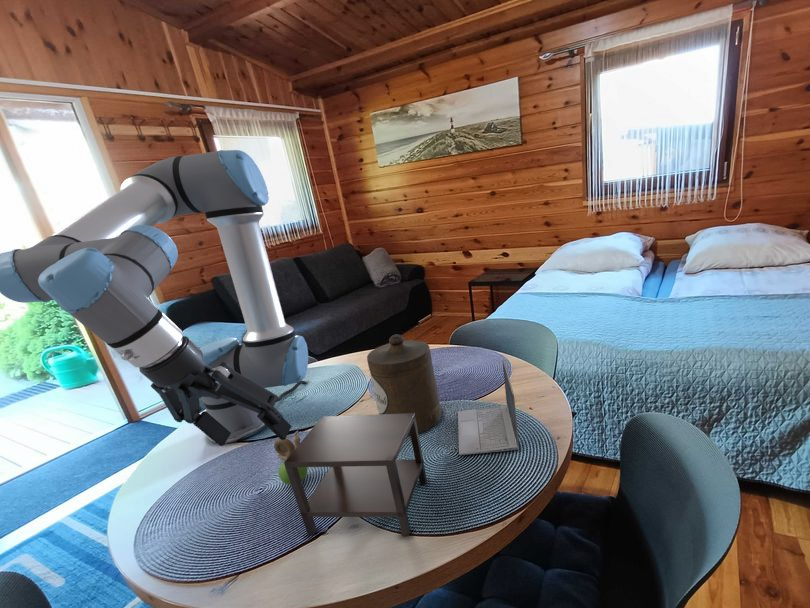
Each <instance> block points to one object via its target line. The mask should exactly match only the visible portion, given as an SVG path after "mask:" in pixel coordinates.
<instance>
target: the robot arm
mask: <svg viewBox="0 0 810 608" xmlns="http://www.w3.org/2000/svg"><path fill="white" fill-rule="evenodd" d="M269 197H270V196H269V190H268V186H267V184H266V180H265V178H264V176H263V173H262V172H261V170H260V168H259V166H258V164H257V163H256V162H255V161H254V159H253V158H252V157H251V155H249V154H248V153H247V152H245V151H243V150H240V149H228V150H227V149H226V150H225V149H219V150H216V151H209V152H202V153H193V154H187V155H186V154H185V155H177V156H176V155H175V156H171V157H167V158H164V159H162V160H159V161H157V162H154V163H153V164H150V165H149V166H147V167H144V168H143V169H140V171H138V172H136V173H134V174H133V175H131V176H130V177H127V178H126V179H125V180H124V181H123V182H122V183H121V185H120V188H119V191H118V192H116V193H115V194H113V195H111V196H110V197H108V198H107V199H105V200H104V201H102V202H101V203H99V204H97V205H96V206H94V207H93V208H91V209H90V210H88V211H87V212H85V213H83V214H82V215H80V216H78V217H77V218H76V219H74V220H73V221H71V222H70V223H68V224H66V225H65V226H63V227H62V228H60V229H58V230H57V231H55V232H54V233H52V234H51V235H50V236H48V237H45V238H44V239H43V240H41V241H39V242H38V243H36V244H34V245H33V246H31V247H28V248H24V249H23V248H22V249H21V248H17V249H15V248H14V249H12V250H10V251H9V250H8V251H6V252H1V253H0V294H1V295H2V296H4V297H5V298H7V299H9V300H11V301H13V302H17V303H22V304H26V303H40V302H42V303H47V302H51V301H54V302H55V303H56V304H57V305H58V306H59V308H60V309H61V310H63V311H64V312H65V313H68V314H69V315H71V317H73V318H74V319H75V320H77V321H78V322H79V323H80V324H81V325H83V326H84V327H85V328H87V329H88V331H90V332H91V333H92V334H94V335H95V336H97V338H99V340H101V341H103V342H104V343H105V344H106V345H107V346H109V347H110V348H112V349H113V350H114V351H115V352H116V353H117V354H118V355H120V358H121V359H122V360H123V361H127V362H128V363H129V364H130V365H131V366H132V367H134V368H139V372H140V374H142V375H143V376H144V377H145V378H146V379H148V380H149V382H151V384H150V388H152V390H154V391H155V392H156V393H157V394H158V395H159V397H160V398H161V400H162V401H163V404H164V405H165V406H166V408H167V410H168V411H169V413H170V415H171V416H172V418H173V420H174V421H175V422H176V423H182V422H183V421H185V422H186V423H187V424H190V425H193V426H195V427H196V428H198V430H199V431H201V432H202V433H203V434H205V435H206V436H207V439H208V441H210V443H212V444H217V445H218V446H220V447H223V446H225V444H232V443H236V442H239V441H240V442H241V441H243V440H246V439H248V438H250V437H253V436H255V435H257V434H258V433H260V432H262V431H263V430H264V429H266V428H268V429H269V430H270V431H271V432H272V433H273V434H274V435H276V437H278V439H279V438H280V439H281V440H285V439H287V437H288V434H289V433H290V431H291V428H292V425H291V423H289V421H287V420H286V419H285V418H284V416H283V414H282V413H281V412H280V411H279V410H278V409H277V408H276V407H275V405H276V403H279V402H280V401H281V400H282V399H283V398H284V397H285V396H287V395H289V394H291V393H293V392H294V391H295V390H297V388H298V387H300V386H301V385H306V384H308V381H305V380H304V379H305V377H306V375H307V372H308V366H309V349H308V343H307V341H306V339H305V338H304V337H303V336H302V335H297V334H296V333H295V329H294V327H293V326H292V325H290V324H288V323H286V320H285V317H284V312H283V309H282V306H281V302H280V297H279V293H278V291H277V287H276V282H275V279H274V275H273V271H272V267H271V263H270V260H269V255H268V252H267V249H266V245H265V242H264V237H263V234H262V230H261V225H260V221H261V219H262V217H263V216H264V215H265V214H264V210H263V207H264V206H265V205H267V204H268V203H269ZM202 213H203V214H204V215H205V219H206V221H207V222H208V223H210V224H211V225H213V226H214V227H216V229H217V232H218V235H219V239H220V243H221V246H222V249H223V253H224V256H225V259H226V263H227V266H228V270H229V274H230V276H231V279H232V283H233V287H234V290H235V293H236V296H237V300H238V304H239V307H240V310H241V313H242V317H243V320H244V324H245V328H246V333H245V334H244V336H243V337H242V343H240V341H239V339H238V338H237V337H226V338H223V339H219V340H216V341H213V342H209V343H208V344H205V345H203V346H201V347H198V346H197V344H195V342H193V340H191V339H190V337H188V336H187V335H184V332H183V331H182V329H181V328H179V327H178V326H177V325H176V324H175V322H174V321H172V320H171V319H170V318H169V317H168V316H167V315H166V314H165V313H164V312H163V311H162V310H161V309H160V308H159V307H158V306H156V305H155V304H154V303H153V302H152V300H150V299H149V298H150V296H151V295H152V294H153V292H154V291H155V290H156V289H157V287H158V286H159V285H160V284H161V283H162V282H163V281H164V279H166V278H167V276H169V275H170V274H171V272H172V270H173V267H174V266H175V265H176V263H177V261H178V256H179V252H178V251H179V250H178V248H177V245H176V243H175V242H174V241H173V239H172V238H171V237H170V236H169V235H168V234H167V233H166V232H164V231H163V230H161V229H160V228H157V227H156V226H155V225H159V224H164V223H166V222H168V221H170V220H172V218H174V217H179V216H184V215H192V214H202ZM154 226H155V227H154ZM288 385H293V386H292V387H291V388H289V389H287V390H285V391H284V392H282V393H281V394H280V395H279V396H278V395H277V394H276V393H274V392H272V391H270V390H269V389H268V388H275V387H282V386H283V387H286V386H288ZM200 399H201V400H202V403H203V405H204V407H201V404H200ZM204 408H205V411H203V409H204Z"/></svg>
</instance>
